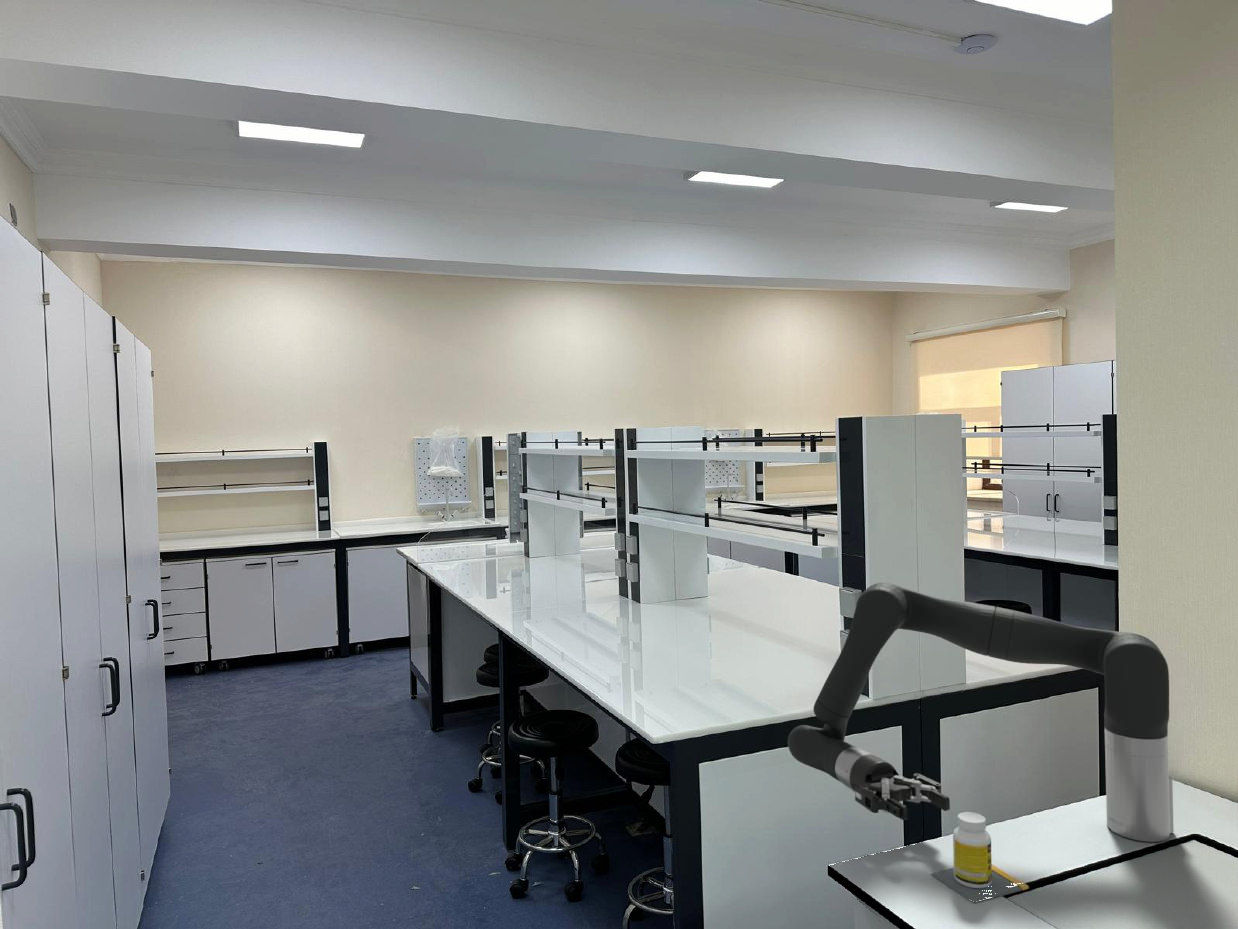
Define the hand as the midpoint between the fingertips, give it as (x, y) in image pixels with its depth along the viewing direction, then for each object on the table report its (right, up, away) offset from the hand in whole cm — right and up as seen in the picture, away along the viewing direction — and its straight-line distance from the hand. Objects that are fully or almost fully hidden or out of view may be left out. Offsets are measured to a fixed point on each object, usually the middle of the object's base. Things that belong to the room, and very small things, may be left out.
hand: (927, 809), depth 137 cm
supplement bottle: (+4, -7, -9) cm, 12 cm away
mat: (+4, -8, -9) cm, 12 cm away
